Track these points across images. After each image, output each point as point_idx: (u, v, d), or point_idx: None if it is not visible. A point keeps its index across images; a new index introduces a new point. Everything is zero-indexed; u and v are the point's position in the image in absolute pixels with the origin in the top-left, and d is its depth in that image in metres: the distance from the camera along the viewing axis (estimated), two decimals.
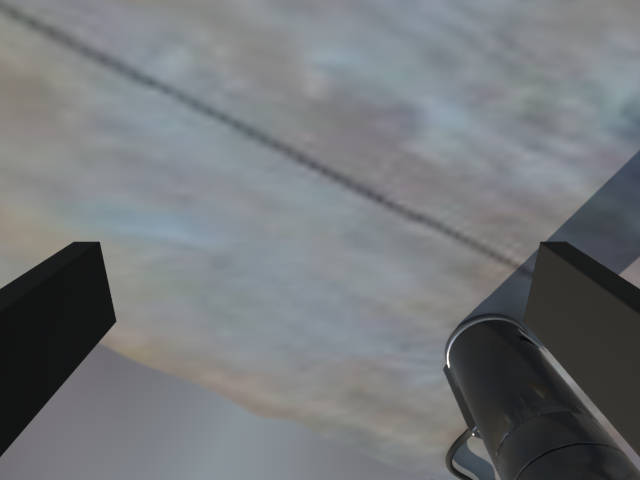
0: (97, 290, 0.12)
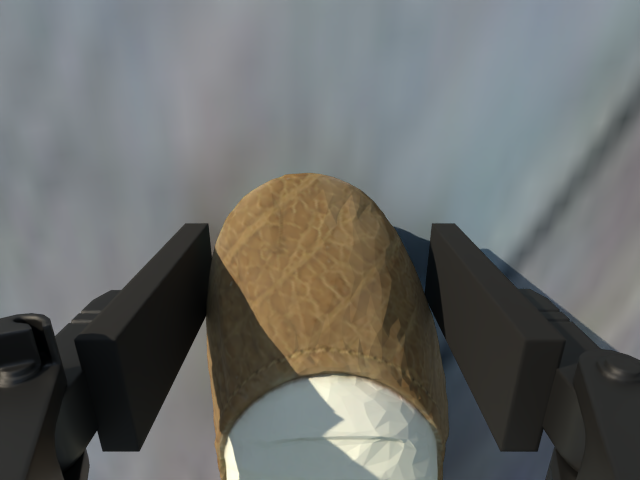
0: (207, 266, 0.13)
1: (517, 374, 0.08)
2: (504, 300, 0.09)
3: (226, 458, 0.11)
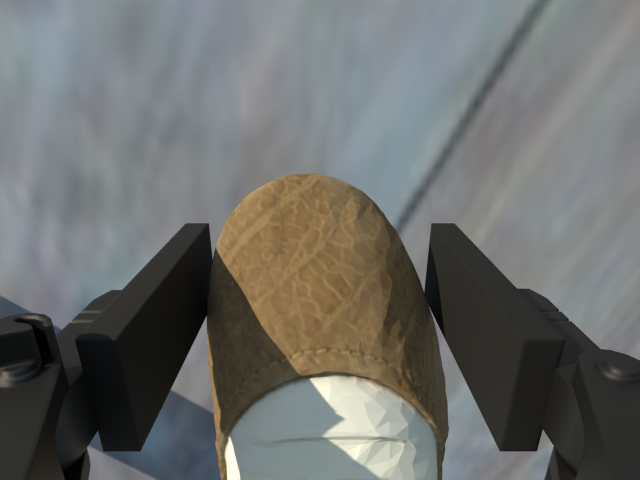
0: (207, 266, 0.13)
1: (516, 374, 0.08)
2: (504, 300, 0.09)
3: (227, 458, 0.11)
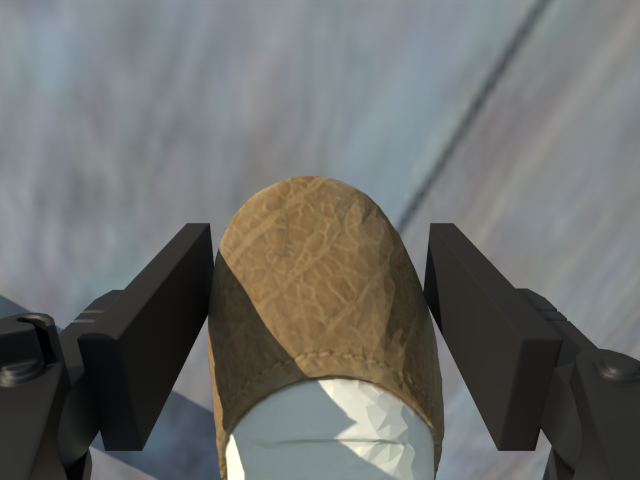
0: (208, 266, 0.13)
1: (514, 373, 0.08)
2: (502, 300, 0.09)
3: (228, 456, 0.11)
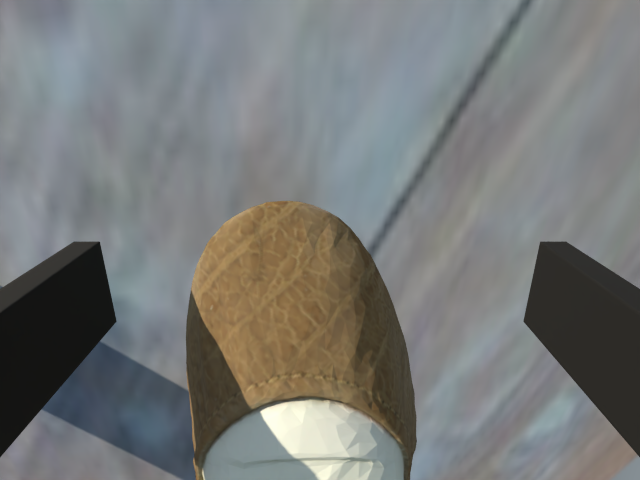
0: (97, 290, 0.12)
1: None
2: None
3: (204, 475, 0.11)
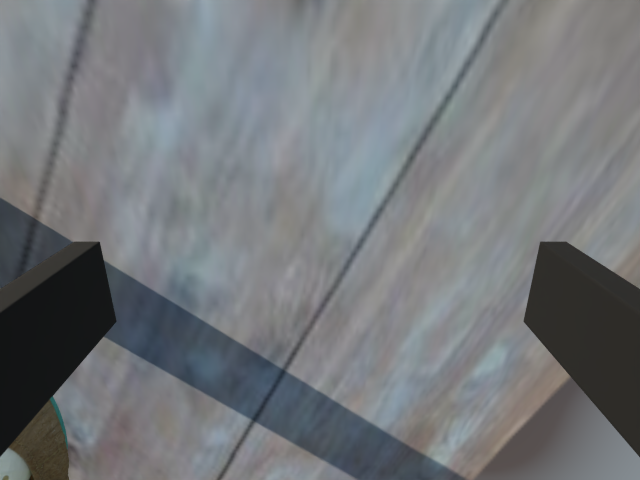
0: (97, 290, 0.12)
1: None
2: None
3: None
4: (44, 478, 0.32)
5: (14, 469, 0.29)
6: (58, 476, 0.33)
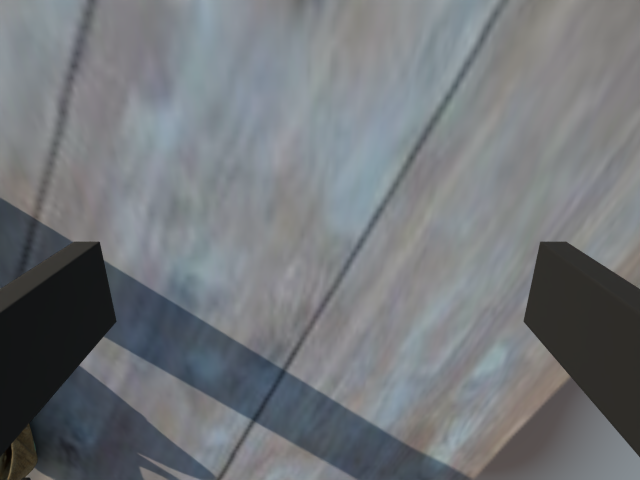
0: (97, 290, 0.12)
1: None
2: None
3: None
4: None
5: None
6: None
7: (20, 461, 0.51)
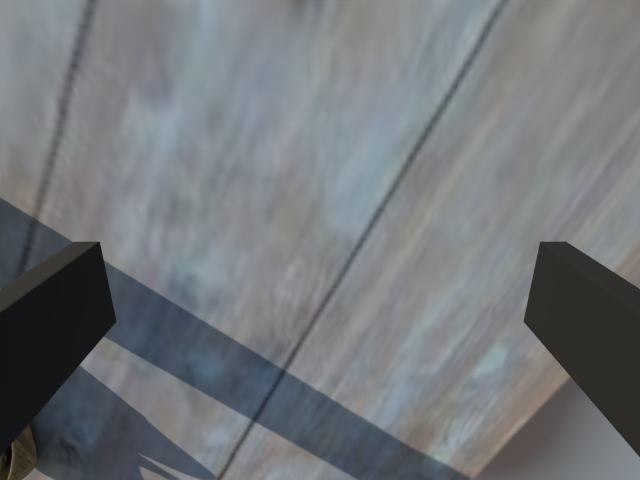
0: (97, 290, 0.12)
1: None
2: None
3: None
4: None
5: None
6: None
7: (20, 461, 0.51)
